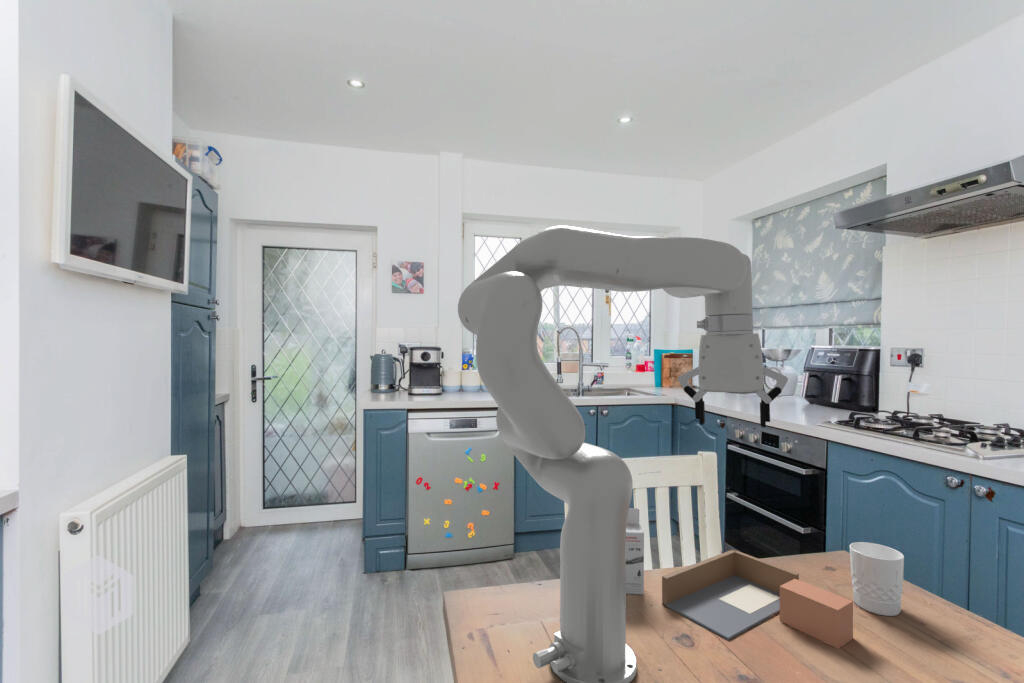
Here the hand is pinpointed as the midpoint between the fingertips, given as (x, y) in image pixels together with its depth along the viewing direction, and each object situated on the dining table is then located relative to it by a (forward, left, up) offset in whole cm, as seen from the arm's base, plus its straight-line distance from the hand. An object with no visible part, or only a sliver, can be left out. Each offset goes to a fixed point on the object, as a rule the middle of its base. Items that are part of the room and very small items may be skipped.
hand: (731, 424), depth 84 cm
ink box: (-9, +18, -33) cm, 39 cm away
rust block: (+8, -9, -33) cm, 36 cm away
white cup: (+25, -12, -33) cm, 44 cm away
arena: (+4, +4, -33) cm, 34 cm away
